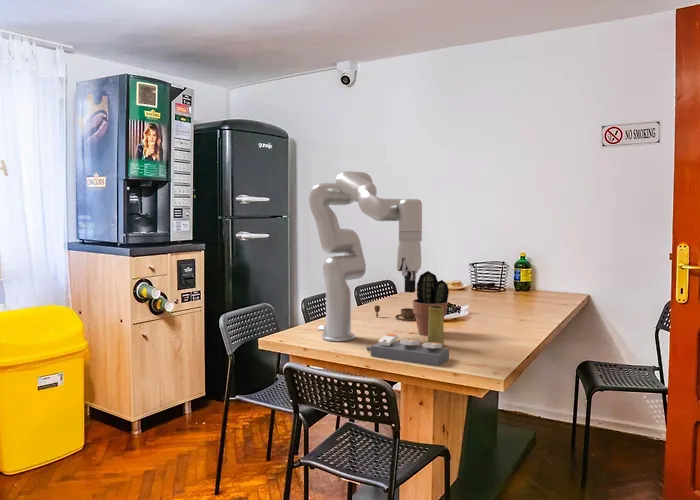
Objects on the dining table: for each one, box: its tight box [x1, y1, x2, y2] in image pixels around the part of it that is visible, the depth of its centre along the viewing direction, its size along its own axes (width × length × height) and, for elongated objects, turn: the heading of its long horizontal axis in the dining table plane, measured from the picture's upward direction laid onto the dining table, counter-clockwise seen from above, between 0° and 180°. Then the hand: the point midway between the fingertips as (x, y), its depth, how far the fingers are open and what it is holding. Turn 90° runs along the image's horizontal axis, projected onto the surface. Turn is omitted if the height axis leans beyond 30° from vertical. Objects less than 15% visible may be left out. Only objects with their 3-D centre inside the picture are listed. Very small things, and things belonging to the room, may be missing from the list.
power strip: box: [366, 340, 450, 367], centre depth 181 cm, size 28×10×4 cm, turn 60°
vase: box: [427, 306, 445, 348], centre depth 195 cm, size 6×6×14 cm
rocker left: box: [377, 333, 399, 346], centre depth 184 cm, size 4×7×1 cm, turn 150°
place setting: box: [374, 305, 416, 322], centre depth 247 cm, size 18×20×6 cm
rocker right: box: [422, 342, 442, 348], centre depth 176 cm, size 4×7×1 cm, turn 150°
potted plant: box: [412, 270, 450, 337], centre depth 214 cm, size 14×14×25 cm
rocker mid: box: [399, 338, 420, 345], centre depth 180 cm, size 4×7×1 cm, turn 150°
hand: (410, 291), depth 179 cm, fingers closed
